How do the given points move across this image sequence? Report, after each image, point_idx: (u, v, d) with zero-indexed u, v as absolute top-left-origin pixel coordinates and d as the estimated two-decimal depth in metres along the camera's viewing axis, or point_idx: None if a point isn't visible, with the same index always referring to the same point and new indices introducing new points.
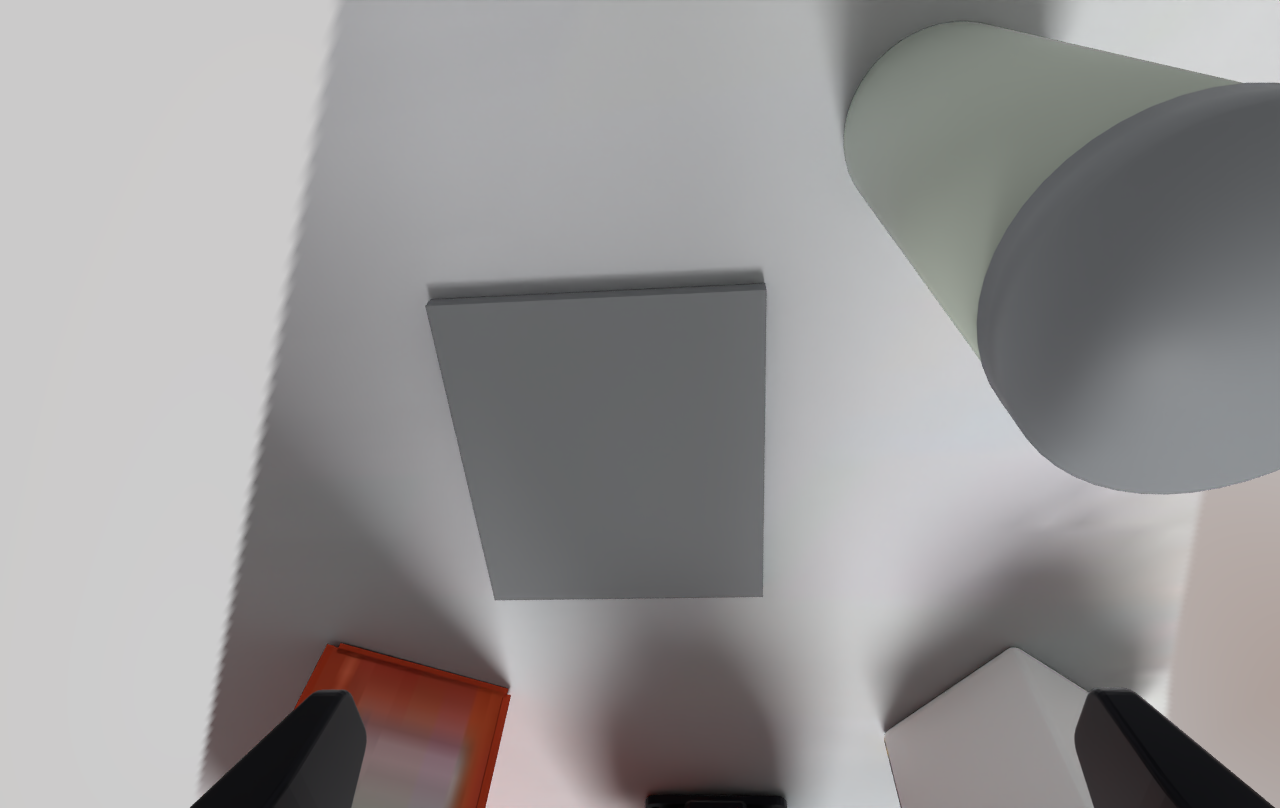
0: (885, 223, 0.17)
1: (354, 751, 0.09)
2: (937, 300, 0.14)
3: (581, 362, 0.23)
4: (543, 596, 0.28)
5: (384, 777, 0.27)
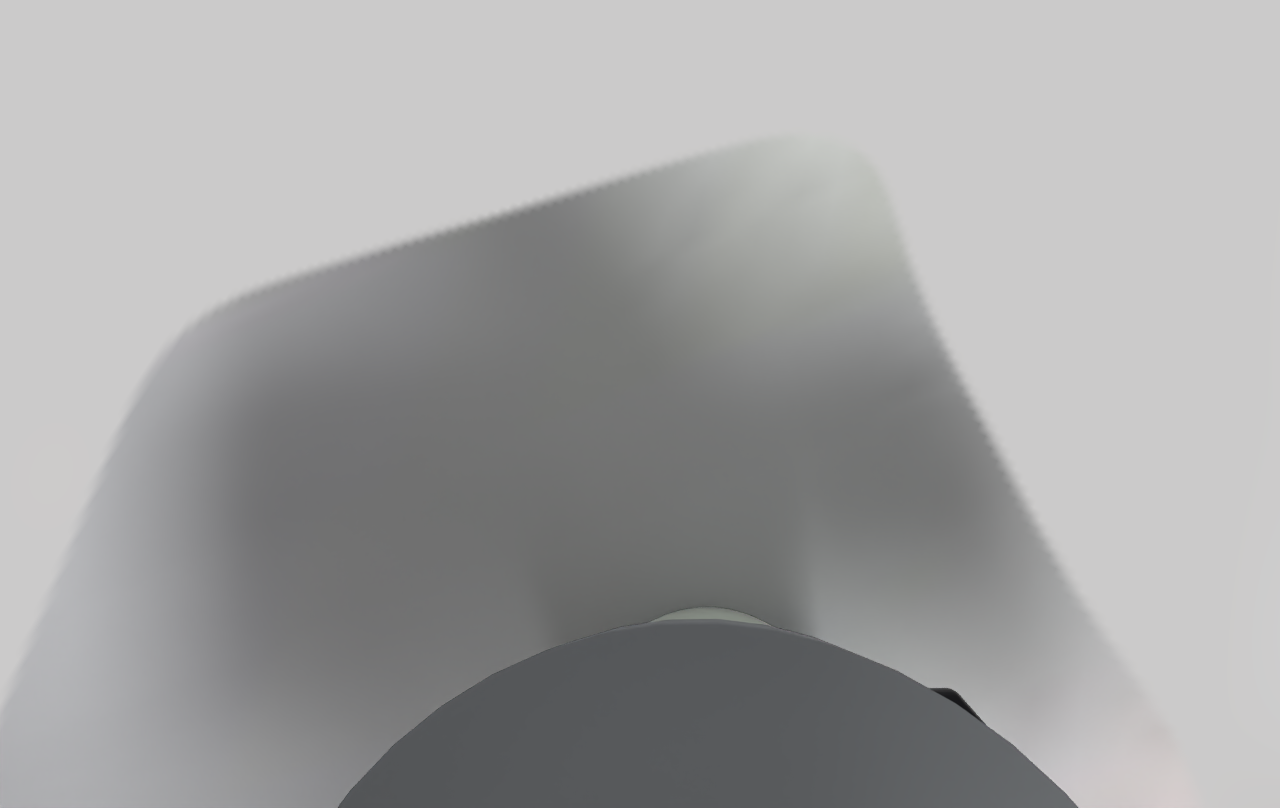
0: None
1: None
2: None
3: None
4: None
5: None
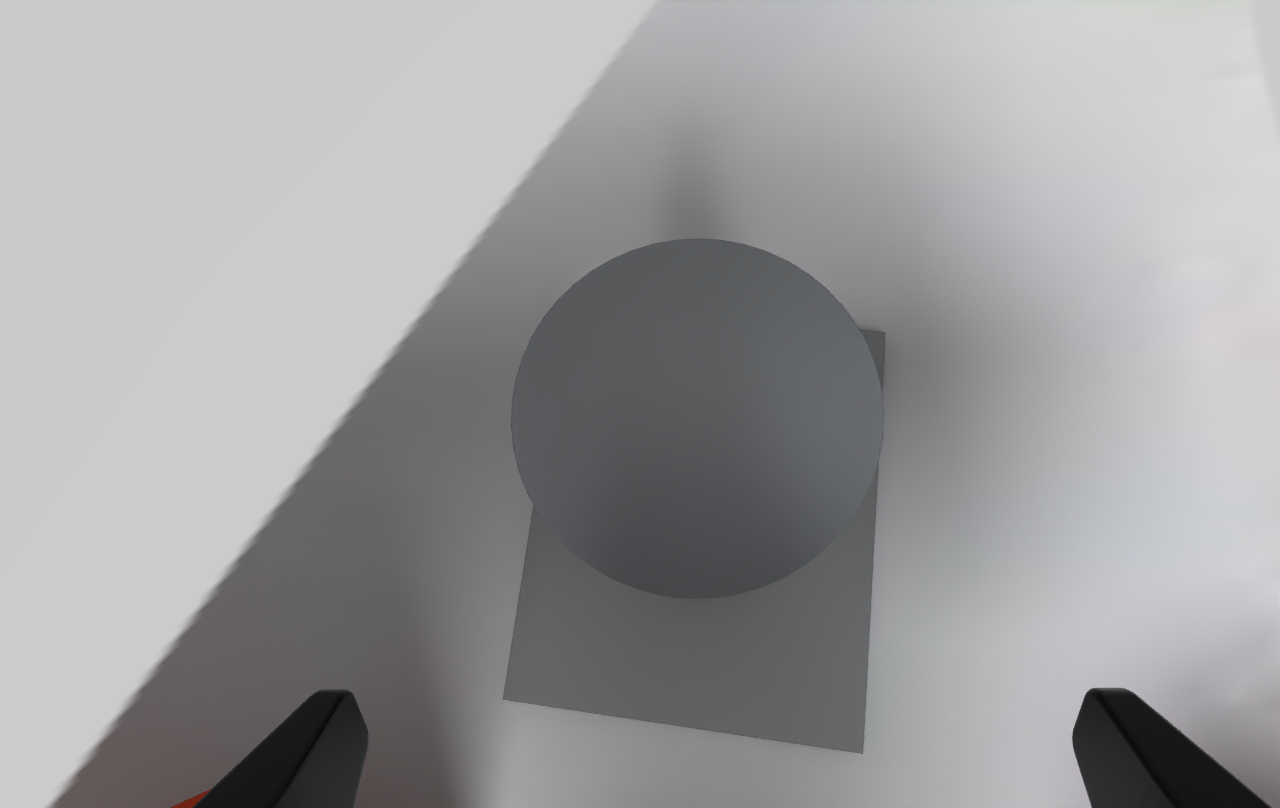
0: None
1: (356, 751, 0.09)
2: None
3: None
4: (568, 702, 0.21)
5: None
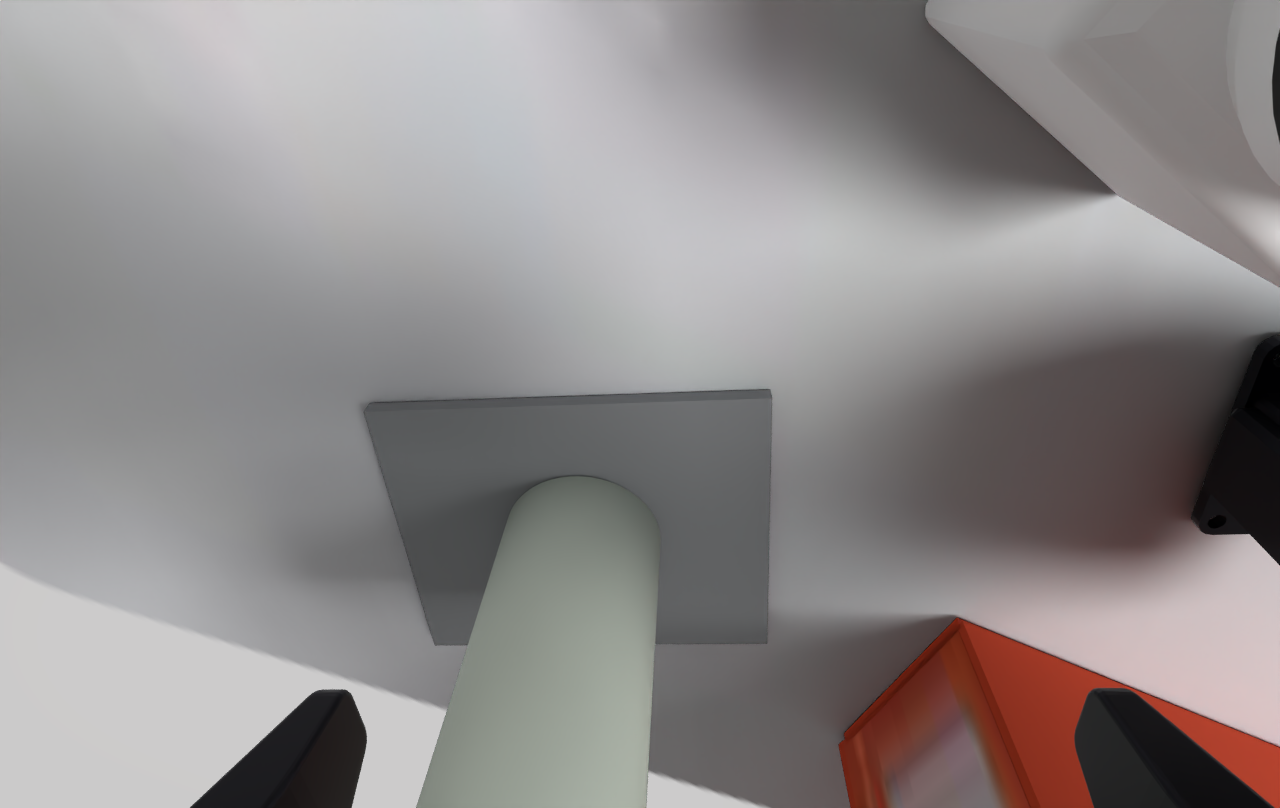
0: None
1: (354, 751, 0.09)
2: None
3: (467, 552, 0.25)
4: (762, 604, 0.25)
5: None
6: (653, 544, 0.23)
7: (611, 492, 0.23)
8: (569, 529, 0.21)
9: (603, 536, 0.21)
